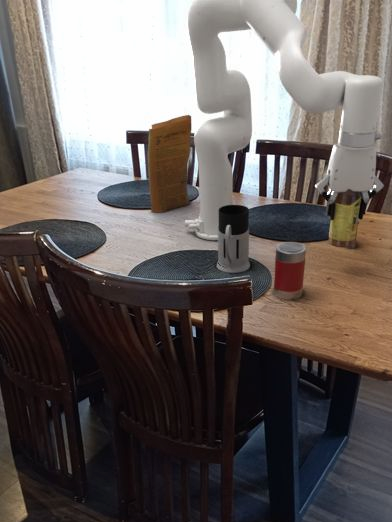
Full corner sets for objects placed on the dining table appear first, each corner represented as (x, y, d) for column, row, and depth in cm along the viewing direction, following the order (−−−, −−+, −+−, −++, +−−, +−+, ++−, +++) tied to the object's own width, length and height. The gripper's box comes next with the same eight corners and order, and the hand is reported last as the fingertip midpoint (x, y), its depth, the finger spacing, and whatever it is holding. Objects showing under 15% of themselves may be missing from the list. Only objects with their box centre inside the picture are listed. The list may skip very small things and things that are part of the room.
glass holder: (252, 259, 141) (253, 204, 133) (244, 283, 130) (245, 224, 122) (220, 257, 143) (219, 203, 135) (209, 281, 132) (208, 223, 123)
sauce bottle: (354, 249, 127) (368, 165, 116) (327, 248, 128) (339, 164, 117) (353, 239, 132) (366, 157, 121) (327, 237, 133) (338, 156, 122)
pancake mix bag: (200, 202, 182) (198, 114, 166) (156, 216, 172) (149, 124, 156) (187, 198, 186) (184, 112, 170) (143, 211, 176) (136, 121, 160)
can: (276, 300, 122) (278, 253, 116) (271, 287, 128) (273, 241, 121) (304, 299, 122) (309, 251, 116) (299, 286, 128) (302, 240, 122)
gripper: (389, 134, 119) (375, 211, 130) (313, 136, 119) (305, 213, 129) (401, 142, 113) (385, 222, 123) (321, 144, 113) (312, 225, 123)
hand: (344, 217), depth 126 cm, fingers closed on sauce bottle, 6 cm apart
